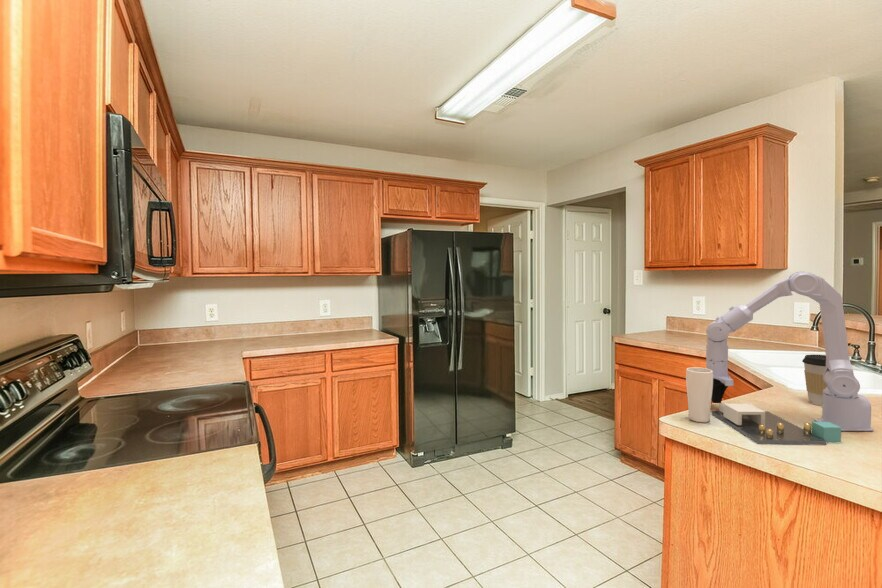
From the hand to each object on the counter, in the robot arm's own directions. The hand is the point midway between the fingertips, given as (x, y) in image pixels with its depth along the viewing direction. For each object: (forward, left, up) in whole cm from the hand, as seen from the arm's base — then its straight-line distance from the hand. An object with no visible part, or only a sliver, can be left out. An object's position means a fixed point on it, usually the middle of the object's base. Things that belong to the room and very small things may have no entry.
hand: (716, 402), depth 134 cm
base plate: (-4, +16, -2) cm, 17 cm away
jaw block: (-15, +24, -2) cm, 28 cm away
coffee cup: (-35, -6, -2) cm, 36 cm away
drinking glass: (+10, +10, -2) cm, 14 cm away
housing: (0, +12, -1) cm, 12 cm away
